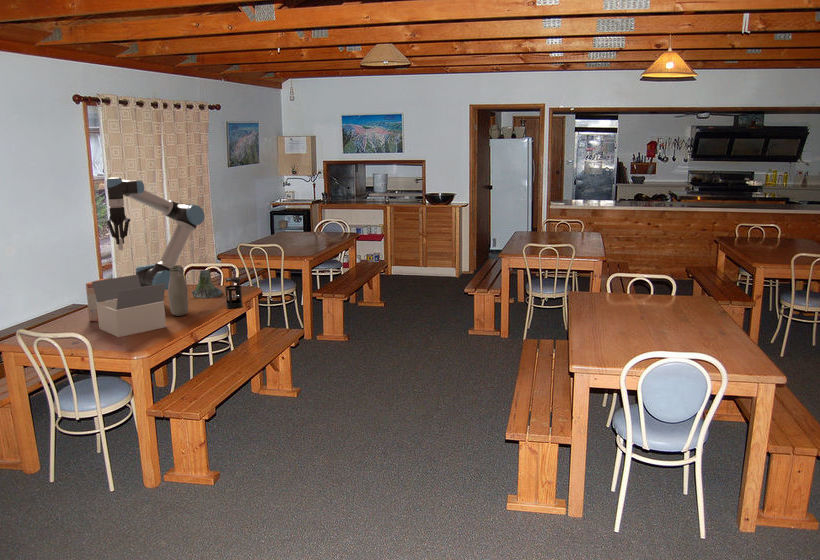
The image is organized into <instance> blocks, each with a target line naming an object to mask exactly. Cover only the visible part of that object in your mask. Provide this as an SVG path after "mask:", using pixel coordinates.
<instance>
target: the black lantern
mask: <svg viewBox="0 0 820 560" xmlns="http://www.w3.org/2000/svg"><path fill="white" fill-rule="evenodd" d="M236 269H237V268H236V267H229V268H228V270H229V271H231V274H232V275H231V276H230V277H226V278H224V280H225V284H226V283H228V282H232V284H231V285H227V286H225V287H224V288H225V298H226V302H225V303H226V307H225V308H226V309H228V310H237V309H242V308H243V307H244V305H243V297H242V296H243V293H242V286H241V285H240V284H239V283H241V280H242V277H240V276H234V274H233V273H234V270H236ZM234 283H235V284H236V285H234Z"/></svg>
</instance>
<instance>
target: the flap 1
mask: <svg viewBox="0 0 820 560" xmlns="http://www.w3.org/2000/svg"><path fill="white" fill-rule="evenodd" d="M105 279H106V280H99V279H98V280H99V281H96V280H94V281H91V282H92V284H93V288H94V292H95V296H96V300H97V302H100V301H106V300H112V299H113V300H117V297H118V291H120V290H126V289H132V288H138V287H141V285H140V281H139V277H138V275H136V274H134V275H133V274H132V275H127V276H119V277H113V278H105Z"/></svg>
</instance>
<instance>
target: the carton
mask: <svg viewBox="0 0 820 560" xmlns="http://www.w3.org/2000/svg"><path fill="white" fill-rule="evenodd" d="M116 307H117V299H113V300H112V301H106V302H101V303H97V313H98V329H99V330H101V331H103V332H105V333H108V334H110V335H113V336H115V337H117V338H121V337H126V336H129V335H135V334H140V333H144V332H149V331H154V330H158V329H163V328H166V327H167V324H166V323H167V322H166V312H165V302H164V300H163V301H161V302H156V303H151V304H145V305H140V306H135V307H129V308H124V309H119V310H117V309H116Z"/></svg>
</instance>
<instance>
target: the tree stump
mask: <svg viewBox="0 0 820 560" xmlns="http://www.w3.org/2000/svg"><path fill="white" fill-rule="evenodd" d="M211 275H212V274H211V270H210V269H203V270H200V272H199V279H198V280H199V281H198V283H197V285H196V288H195V289H194V290H192V292H191V294H192V295H193V297H194V298H197V299H214V298H217V297H221V296H222V295H223V290H222V289H221V288H219V287H216V285H215V284H214V283H213V282H212V277H211Z"/></svg>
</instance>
